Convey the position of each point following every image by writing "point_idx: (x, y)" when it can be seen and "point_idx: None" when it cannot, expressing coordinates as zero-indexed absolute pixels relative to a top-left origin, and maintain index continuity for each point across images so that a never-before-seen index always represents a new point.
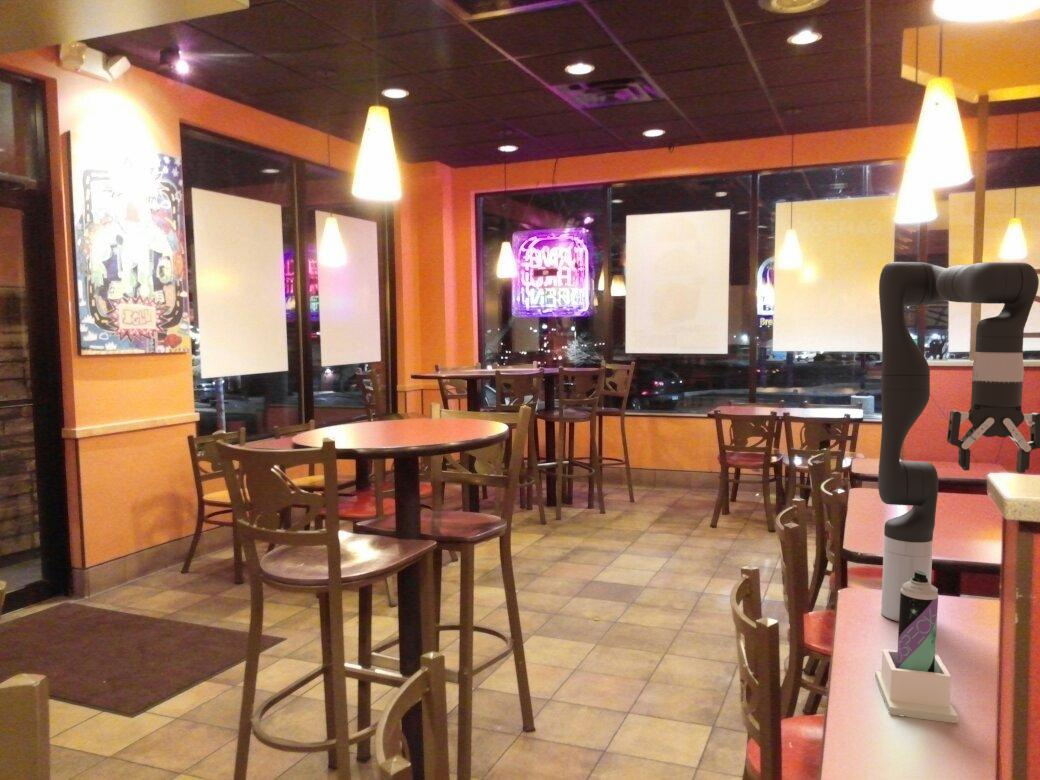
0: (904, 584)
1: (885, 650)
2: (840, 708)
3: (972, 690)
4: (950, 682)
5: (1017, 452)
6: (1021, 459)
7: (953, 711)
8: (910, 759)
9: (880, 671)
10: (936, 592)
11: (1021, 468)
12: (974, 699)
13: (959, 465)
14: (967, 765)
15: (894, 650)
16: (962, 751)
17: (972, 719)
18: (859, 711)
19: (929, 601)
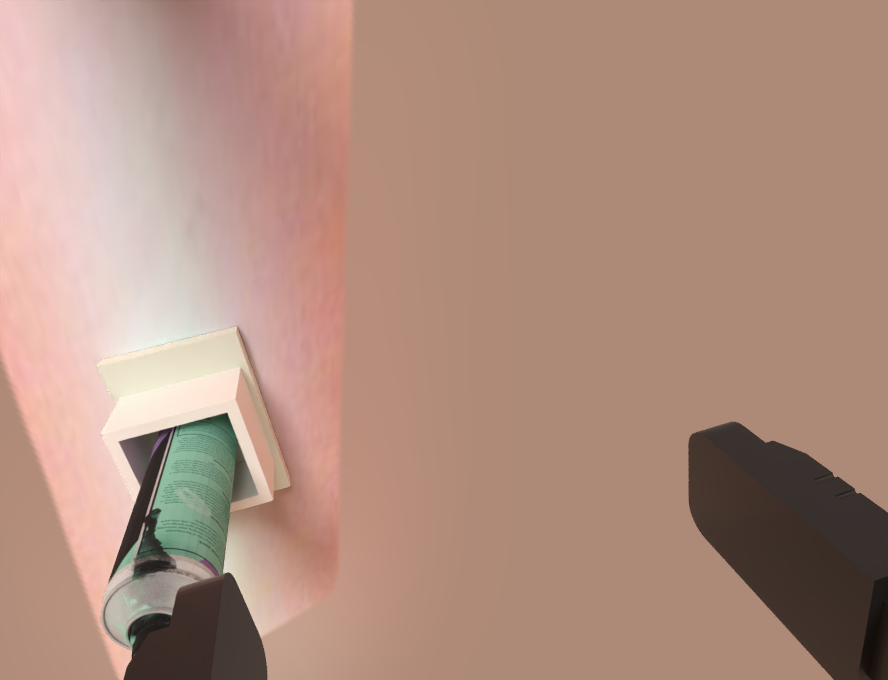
0: (111, 630)
1: (110, 438)
2: (79, 537)
3: (312, 315)
4: (273, 493)
5: (845, 569)
6: (784, 623)
7: (282, 473)
8: None
9: (109, 366)
10: None
11: (723, 550)
12: (317, 359)
13: (151, 645)
14: (310, 593)
15: (131, 427)
16: (302, 560)
17: (314, 447)
18: (117, 528)
19: None
